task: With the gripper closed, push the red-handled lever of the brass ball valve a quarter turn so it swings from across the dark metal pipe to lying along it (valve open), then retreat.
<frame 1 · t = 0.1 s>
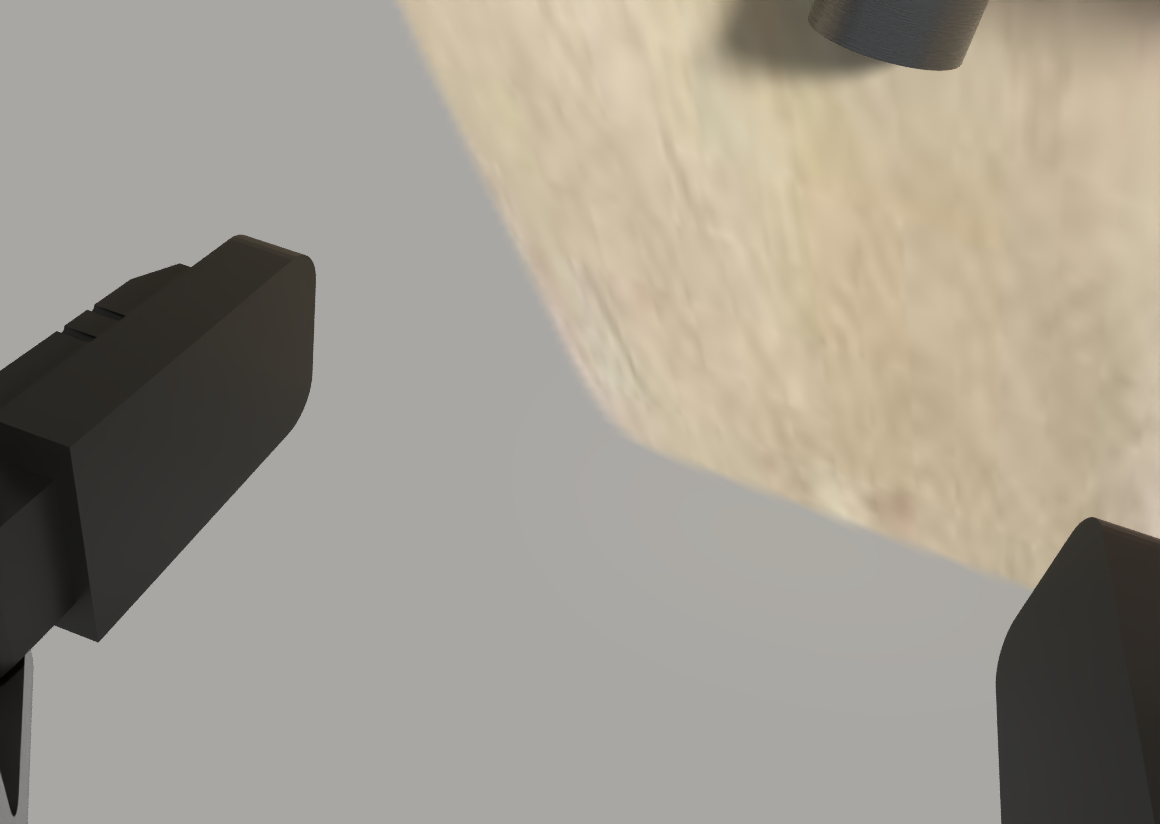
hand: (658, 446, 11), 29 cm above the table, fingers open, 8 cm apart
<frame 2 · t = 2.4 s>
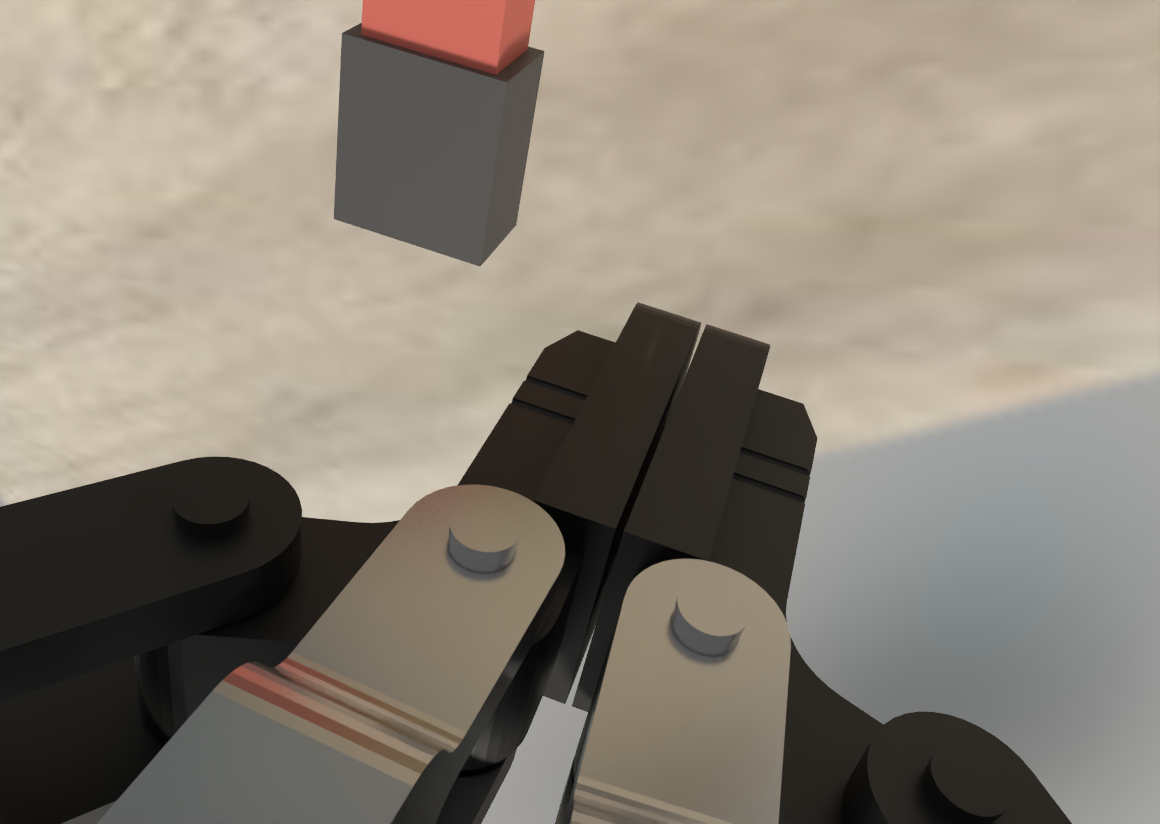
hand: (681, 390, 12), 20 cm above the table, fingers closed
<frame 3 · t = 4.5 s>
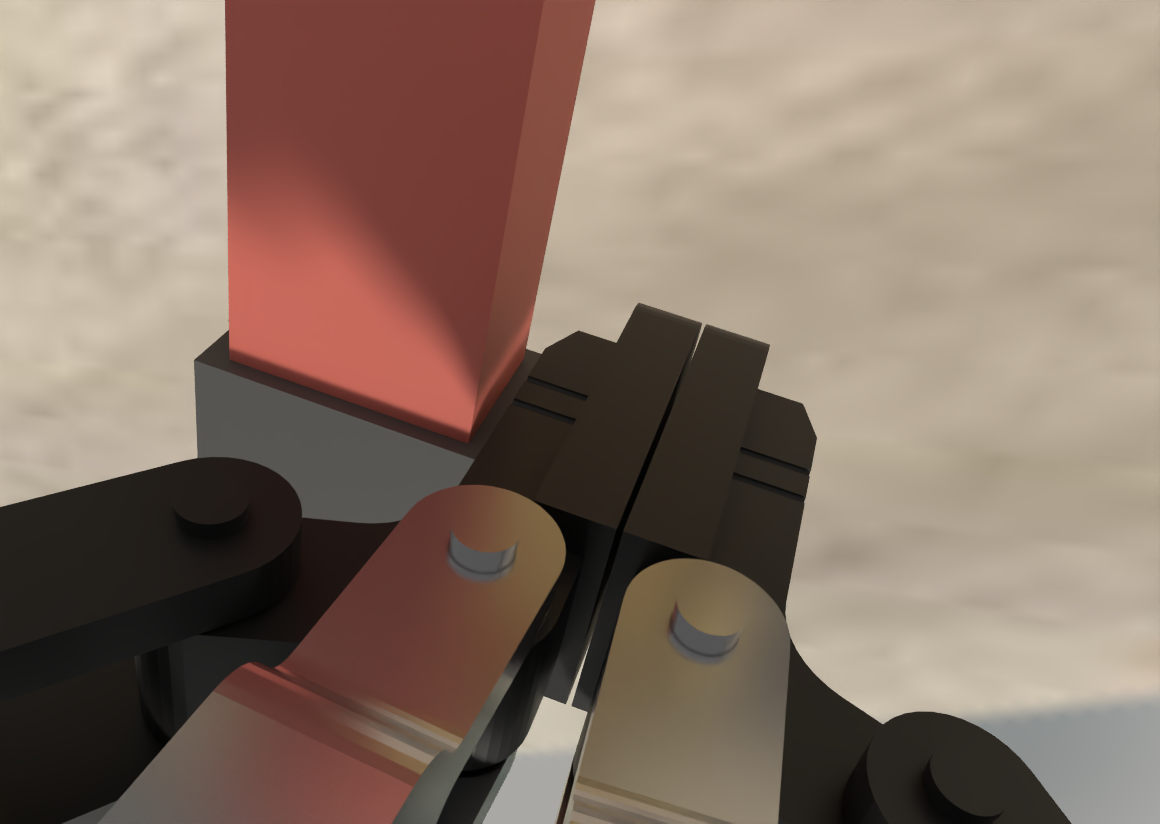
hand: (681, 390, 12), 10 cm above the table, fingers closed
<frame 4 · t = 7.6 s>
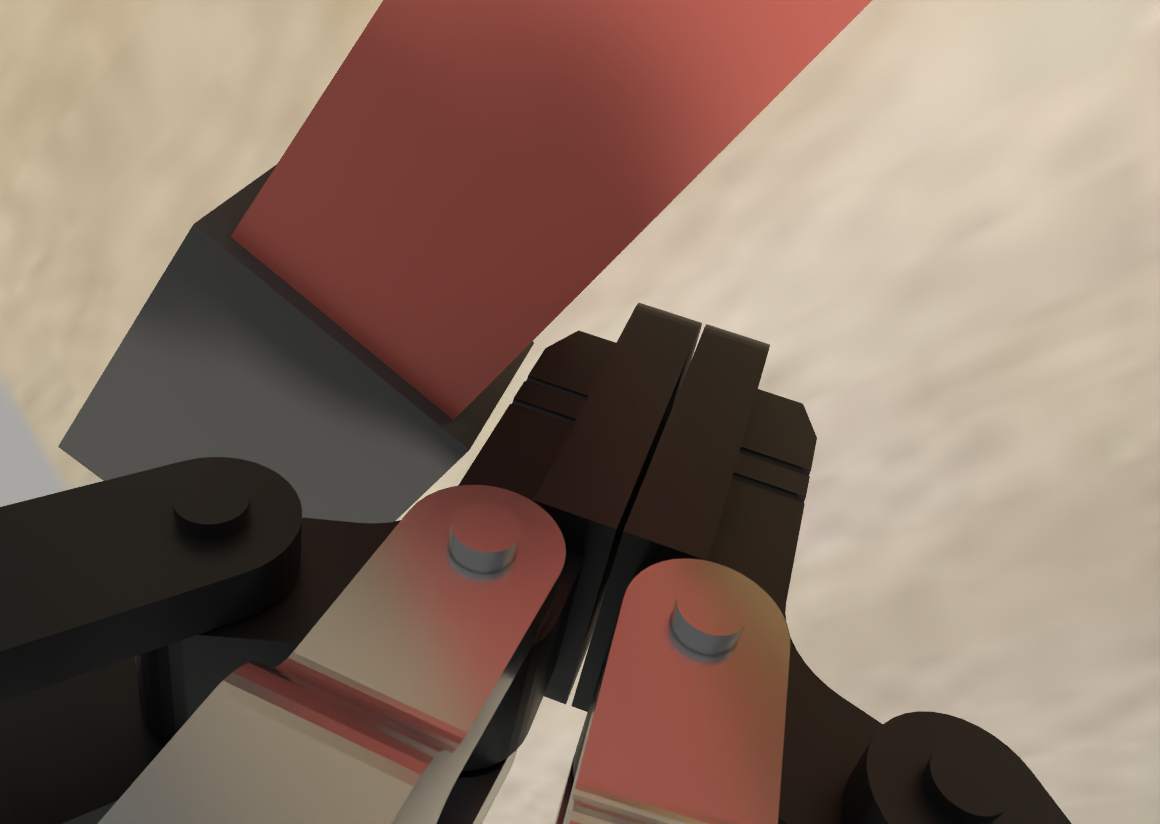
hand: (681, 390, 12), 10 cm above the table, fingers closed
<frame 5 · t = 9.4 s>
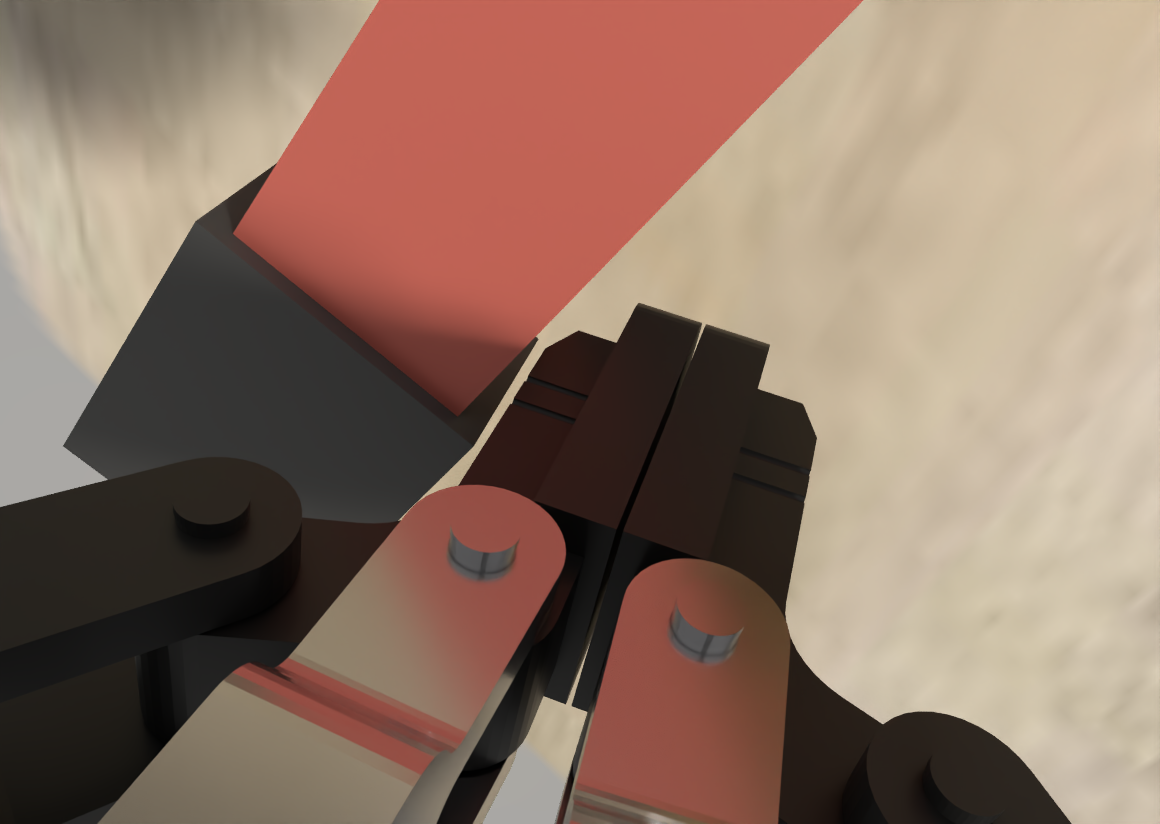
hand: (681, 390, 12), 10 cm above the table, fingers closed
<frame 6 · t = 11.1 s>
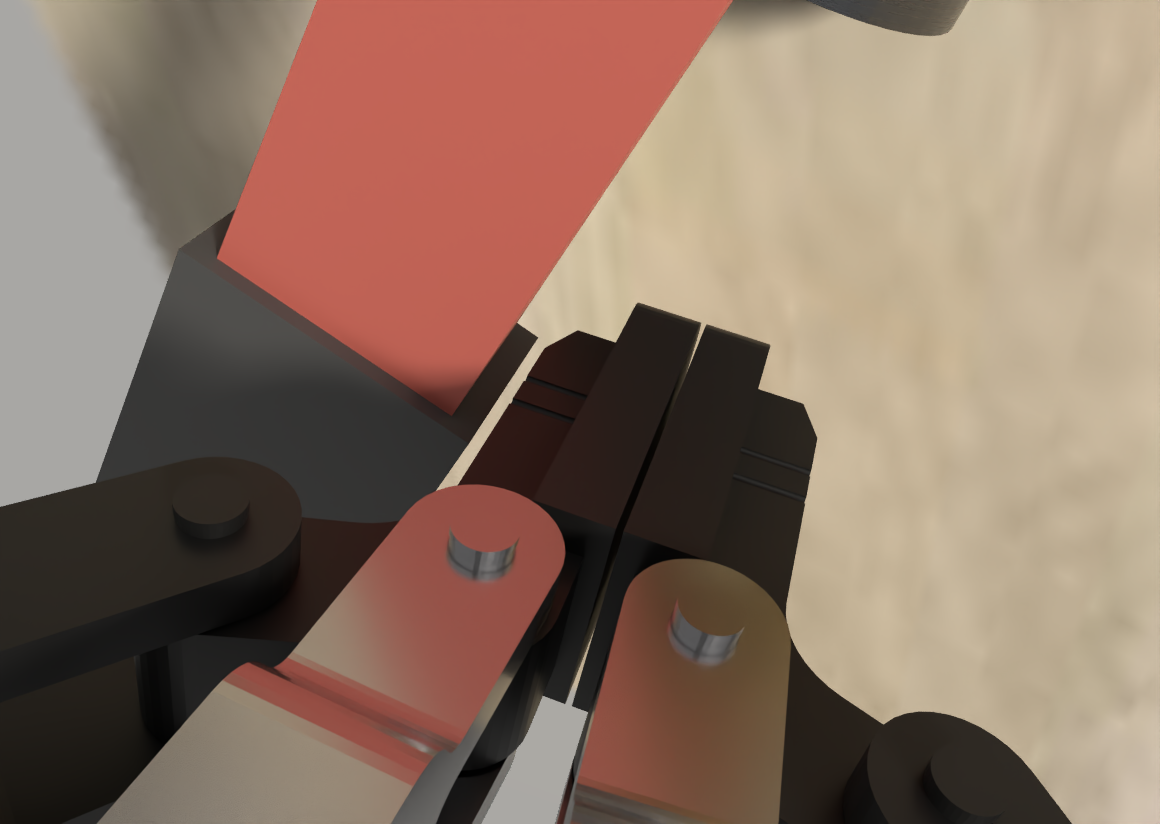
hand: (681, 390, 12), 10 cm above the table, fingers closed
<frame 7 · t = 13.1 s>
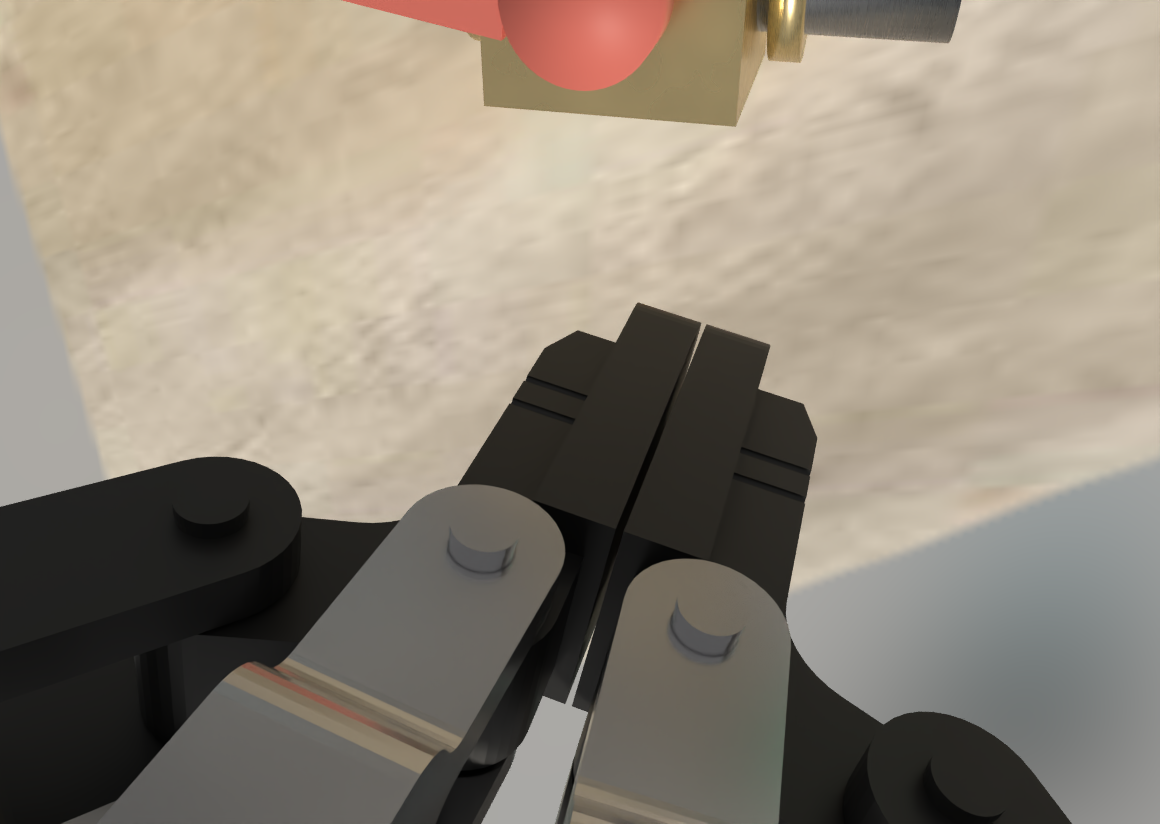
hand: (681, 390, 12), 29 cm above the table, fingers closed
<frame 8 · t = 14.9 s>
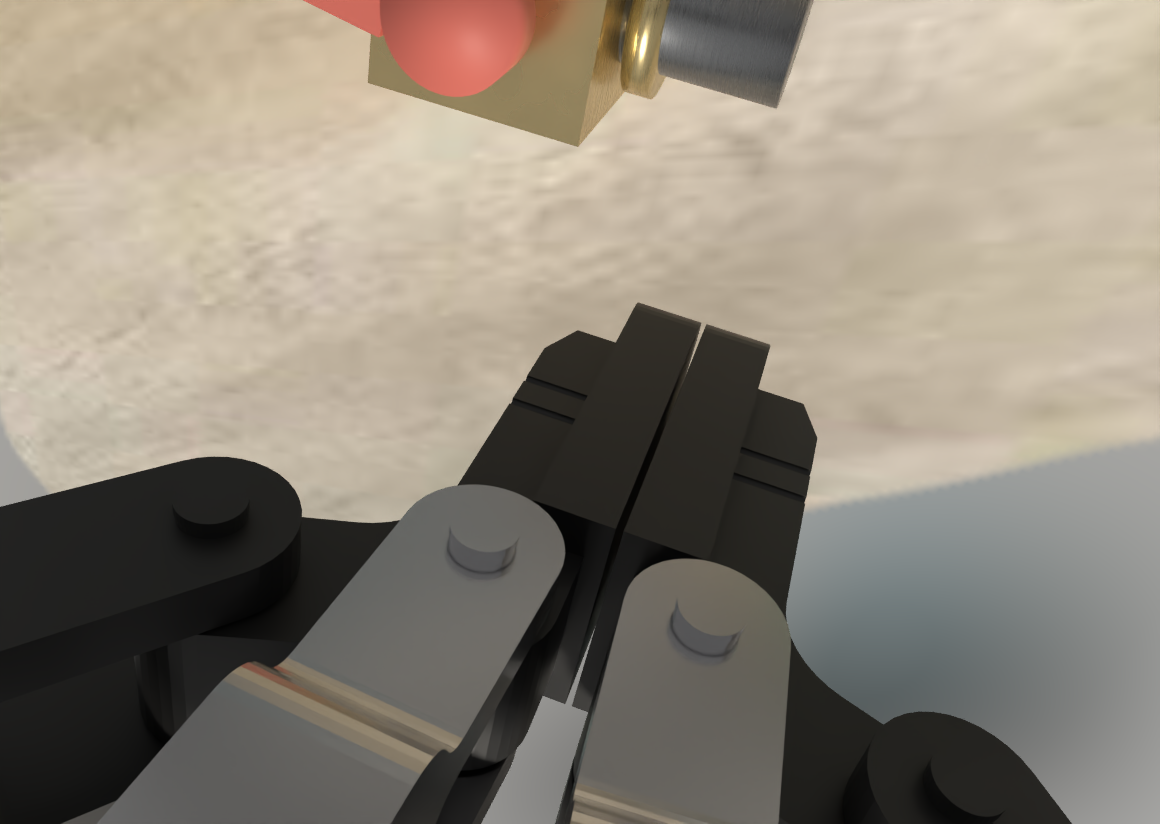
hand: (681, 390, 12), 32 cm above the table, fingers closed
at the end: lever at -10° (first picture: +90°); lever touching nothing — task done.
